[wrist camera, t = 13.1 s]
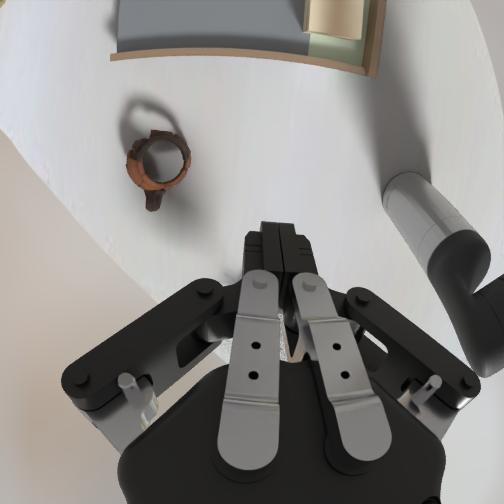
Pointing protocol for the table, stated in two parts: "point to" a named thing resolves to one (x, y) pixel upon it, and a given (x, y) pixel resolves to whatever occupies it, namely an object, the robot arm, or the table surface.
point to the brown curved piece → (139, 175)
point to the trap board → (244, 32)
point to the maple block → (334, 18)
